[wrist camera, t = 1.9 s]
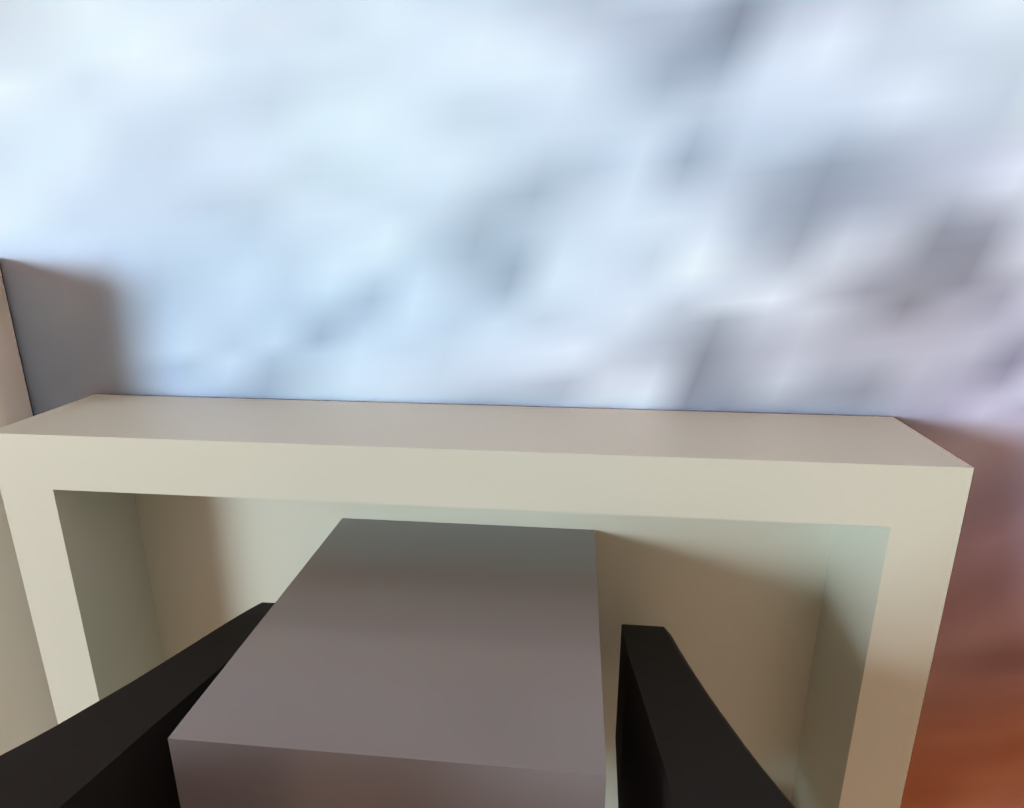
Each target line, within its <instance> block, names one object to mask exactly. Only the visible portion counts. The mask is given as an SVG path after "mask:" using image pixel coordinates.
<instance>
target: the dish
mask: <svg viewBox="0 0 1024 808" xmlns="http://www.w3.org/2000/svg"><path fill="white" fill-rule="evenodd" d="M32 416H33V414H32V410H31V405H30V401H29V396H28V392H27V387H26V383H25V378H24V374H23V369H22V365H21V360H20V356H19V351H18V347H17V342H16V338H15V333H14V329H13V324H12V320H11V315H10V311H9V306H8V302H7V297H6V293H5V288H4V284H3V279H2V275H1V270H0V428H2V427H4V426H7V425H10V424H13V423H16V422H18V421H21V420H24V419H27V418H29V417H32ZM56 725H58V722H57V718H56V714H55V710H54V706H53V702H52V698H51V694H50V689H49V685H48V681H47V677H46V673H45V669H44V665H43V661H42V657H41V653H40V649H39V645H38V641H37V637H36V632H35V628H34V624H33V620H32V616H31V612H30V608H29V604H28V600H27V596H26V592H25V588H24V584H23V580H22V576H21V571H20V567H19V563H18V559H17V555H16V551H15V547H14V543H13V539H12V535H11V531H10V527H9V523H8V519H7V514H6V510H5V506H4V502H3V498H2V494H1V490H0V755H2V754H4V753H6V752H8V751H10V750H12V749H14V748H16V747H18V746H20V745H21V744H23V743H25V742H27V741H29V740H31V739H33V738H35V737H36V736H38V735H40V734H42V733H44V732H46V731H47V730H49V729H51V728H53V727H55V726H56Z"/></svg>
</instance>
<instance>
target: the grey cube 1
mask: <svg viewBox="0 0 1024 808" xmlns="http://www.w3.org/2000/svg"><path fill="white" fill-rule="evenodd" d="M168 743H169V748H170V754H171V759H172V764H173V770H174V775H175V780H176V786H177V791H178V796H179V801H180V807H181V808H605V794H606V755H605V735H604V715H603V695H602V675H601V655H600V635H599V615H598V595H597V575H596V555H595V535H594V530H587V529H566V528H544V527H523V526H502V525H480V524H459V523H438V522H416V521H395V520H374V519H352V518H342V519H341V520H340V522H339V523H338V524H337V525H336V527H335V528H334V529H333V530H332V532H331V533H330V534H329V535H328V537H327V538H326V539H325V541H324V542H323V543H322V544H321V546H320V547H319V548H318V549H317V551H316V552H315V553H314V554H313V556H312V557H311V558H310V559H309V561H308V562H307V563H306V564H305V566H304V567H303V568H302V570H301V571H300V572H299V573H298V575H297V576H296V577H295V578H294V580H293V581H292V582H291V583H290V585H289V586H288V587H287V588H286V590H285V591H284V592H283V594H282V595H281V596H280V597H279V599H278V600H277V601H276V602H275V604H274V605H273V606H272V607H271V609H270V610H269V611H268V612H267V614H266V615H265V616H264V617H263V619H262V620H261V621H260V623H259V624H258V625H257V626H256V628H255V629H254V630H253V631H252V633H251V634H250V635H249V636H248V638H247V639H246V640H245V641H244V643H243V644H242V645H241V646H240V648H239V649H238V650H237V652H236V653H235V654H234V655H233V657H232V658H231V659H230V660H229V662H228V663H227V664H226V665H225V667H224V668H223V669H222V670H221V672H220V673H219V674H218V676H217V677H216V678H215V679H214V681H213V682H212V683H211V684H210V686H209V687H208V688H207V689H206V691H205V692H204V693H203V694H202V696H201V697H200V698H199V699H198V701H197V702H196V703H195V705H194V706H193V707H192V708H191V710H190V711H189V712H188V713H187V715H186V716H185V717H184V718H183V720H182V721H181V722H180V723H179V725H178V726H177V727H176V728H175V730H174V731H173V732H172V734H171V735H170V736H169V737H168Z"/></svg>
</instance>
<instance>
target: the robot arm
mask: <svg viewBox="0 0 1024 808" xmlns="http://www.w3.org/2000/svg"><path fill="white" fill-rule="evenodd" d="M274 604H275V603H267V602H262V603H260V604H258V605H256V606H254V607H253V608H251V609H249V610H247V611H245V612H244V613H242V614H240V615H239V616H237V617H235V618H234V619H232V620H230V621H229V622H227V623H225V624H224V625H222V626H221V627H219V628H217V629H216V630H214V631H213V632H211V633H209V634H208V635H206V636H205V637H203V638H201V639H200V640H198V641H197V642H195V643H193V644H192V645H190V646H189V647H187V648H185V649H184V650H182V651H181V652H179V653H177V654H176V655H174V656H173V657H171V658H169V659H168V660H166V661H165V662H163V663H161V664H160V665H158V666H157V667H155V668H153V669H152V670H150V671H148V672H147V673H145V674H144V675H142V676H140V677H139V678H137V679H136V680H134V681H132V682H131V683H129V684H127V685H126V686H124V687H122V688H120V689H119V690H117V691H115V692H113V693H112V694H110V695H108V696H107V697H105V698H103V699H101V700H100V701H98V702H96V703H94V704H93V705H91V706H89V707H87V708H86V709H84V710H82V711H81V712H79V713H77V714H75V715H74V716H72V717H70V718H68V719H67V720H65V721H63V722H62V723H60V724H58V725H56V726H55V727H53V728H51V729H49V730H47V731H46V732H44V733H42V734H40V735H38V736H36V737H35V738H33V739H31V740H29V741H27V742H25V743H23V744H21V745H20V746H18V747H16V748H14V749H12V750H10V751H8V752H6V753H4V754H2V755H0V808H181V807H180V801H179V796H178V791H177V786H176V780H175V775H174V770H173V764H172V759H171V754H170V748H169V743H168V737H169V736H170V735H171V734H172V732H173V731H174V730H175V728H176V727H177V726H178V725H179V723H180V722H181V721H182V720H183V718H184V717H185V716H186V715H187V713H188V712H189V711H190V710H191V708H192V707H193V706H194V705H195V703H196V702H197V701H198V699H199V698H200V697H201V696H202V694H203V693H204V692H205V691H206V689H207V688H208V687H209V686H210V684H211V683H212V682H213V681H214V679H215V678H216V677H217V676H218V674H219V673H220V672H221V670H222V669H223V668H224V667H225V665H226V664H227V663H228V662H229V660H230V659H231V658H232V657H233V655H234V654H235V653H236V652H237V650H238V649H239V648H240V646H241V645H242V644H243V643H244V641H245V640H246V639H247V638H248V636H249V635H250V634H251V633H252V631H253V630H254V629H255V628H256V626H257V625H258V624H259V623H260V621H261V620H262V619H263V617H264V616H265V615H266V614H267V612H268V611H269V610H270V609H271V607H272V606H273V605H274ZM615 742H616V766H617V789H618V808H795V807H794V806H793V804H792V803H791V802H790V801H789V800H788V798H787V797H786V796H785V795H784V794H783V792H782V791H781V790H780V789H779V787H778V786H777V785H776V784H775V783H774V781H773V780H772V779H771V778H770V776H769V775H768V774H767V773H766V772H765V770H764V769H763V768H762V767H761V765H760V764H759V763H758V761H757V760H756V759H755V758H754V756H753V755H752V754H751V752H750V751H749V750H748V749H747V747H746V746H745V745H744V743H743V742H742V741H741V739H740V738H739V736H738V735H737V734H736V732H735V731H734V730H733V728H732V727H731V726H730V724H729V723H728V721H727V720H726V719H725V717H724V716H723V715H722V713H721V712H720V710H719V709H718V708H717V706H716V705H715V703H714V702H713V700H712V699H711V698H710V696H709V695H708V693H707V692H706V690H705V689H704V687H703V686H702V684H701V683H700V681H699V680H698V678H697V677H696V675H695V674H694V672H693V670H692V669H691V667H690V666H689V664H688V663H687V661H686V659H685V658H684V656H683V654H682V653H681V651H680V649H679V648H678V646H677V644H676V643H675V641H674V639H673V637H672V636H671V634H670V633H669V632H668V631H667V630H666V629H665V628H664V627H661V626H644V625H628V624H622V627H621V645H620V662H619V680H618V698H617V716H616V734H615Z"/></svg>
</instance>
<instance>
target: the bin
mask: <svg viewBox="0 0 1024 808" xmlns="http://www.w3.org/2000/svg"><path fill="white" fill-rule="evenodd" d="M973 471H974V467H972V466H970V465H969V464H967V463H966V462H964V461H963V460H961V459H959V458H958V457H956V456H955V455H953V454H951V453H950V452H948V451H947V450H945V449H943V448H942V447H940V446H939V445H937V444H935V443H934V442H932V441H931V440H929V439H927V438H926V437H924V436H923V435H921V434H919V433H918V432H916V431H915V430H913V429H912V428H910V427H908V426H907V425H905V424H904V423H902V422H900V421H899V420H897V419H896V418H894V417H881V416H846V415H811V414H775V413H740V412H705V411H670V410H634V409H599V408H564V407H528V406H493V405H458V404H423V403H387V402H352V401H317V400H282V399H246V398H211V397H176V396H140V395H105V394H93V395H91V396H88V397H85V398H82V399H79V400H77V401H74V402H71V403H68V404H66V405H63V406H60V407H57V408H54V409H52V410H49V411H46V412H43V413H41V414H38V415H35V416H32V417H29V418H27V419H24V420H21V421H18V422H16V423H13V424H10V425H7V426H4V427H2V428H0V490H1V494H2V498H3V502H4V506H5V510H6V514H7V519H8V523H9V527H10V531H11V535H12V539H13V543H14V547H15V551H16V555H17V559H18V563H19V567H20V571H21V576H22V580H23V584H24V588H25V592H26V596H27V600H28V604H29V608H30V612H31V616H32V620H33V624H34V628H35V632H36V637H37V641H38V645H39V649H40V653H41V657H42V661H43V665H44V669H45V673H46V677H47V681H48V685H49V689H50V694H51V698H52V702H53V706H54V710H55V714H56V718H57V722H58V724H60V723H62V722H63V721H65V720H67V719H68V718H70V717H72V716H74V715H75V714H77V713H79V712H81V711H82V710H84V709H86V708H87V707H89V706H91V705H93V704H94V703H96V702H98V701H100V700H101V699H103V698H105V697H107V696H108V695H110V694H112V693H113V692H115V691H117V690H119V689H120V688H122V687H124V686H126V685H127V684H129V683H131V682H132V681H134V680H136V679H137V678H139V677H140V676H142V675H144V674H145V673H147V672H148V671H150V670H152V669H153V668H155V667H157V666H158V665H160V664H161V663H163V662H165V661H166V660H168V659H169V658H171V657H173V656H174V655H176V654H177V653H179V652H181V651H182V650H184V649H185V648H187V647H189V646H190V645H192V644H193V643H195V642H197V641H198V640H200V639H201V638H203V637H205V636H206V635H208V634H209V633H211V632H213V631H214V630H216V629H217V628H219V627H221V626H222V625H224V624H225V623H227V622H229V621H230V620H232V619H234V618H235V617H237V616H239V615H240V614H242V613H244V612H245V611H247V610H249V609H251V608H253V607H254V606H256V605H258V604H260V603H262V602H267V603H275V602H276V601H277V600H278V599H279V597H280V596H281V595H282V594H283V592H284V591H285V590H286V588H287V587H288V586H289V585H290V583H291V582H292V581H293V580H294V578H295V577H296V576H297V575H298V573H299V572H300V571H301V570H302V568H303V567H304V566H305V564H306V563H307V562H308V561H309V559H310V558H311V557H312V556H313V554H314V553H315V552H316V551H317V549H318V548H319V547H320V546H321V544H322V543H323V542H324V541H325V539H326V538H327V537H328V535H329V534H330V533H331V532H332V530H333V529H334V528H335V527H336V525H337V524H338V523H339V522H340V520H341V519H342V518H352V519H374V520H395V521H416V522H438V523H459V524H480V525H502V526H523V527H544V528H566V529H587V530H594V535H595V555H596V575H597V595H598V615H599V635H600V655H601V675H602V695H603V715H604V735H605V755H606V794H605V808H618V789H617V766H616V742H615V734H616V716H617V698H618V680H619V662H620V645H621V627H622V624H628V625H644V626H661V627H664V628H665V629H666V630H667V631H668V632H669V633H670V634H671V636H672V637H673V639H674V641H675V643H676V644H677V646H678V648H679V649H680V651H681V653H682V654H683V656H684V658H685V659H686V661H687V663H688V664H689V666H690V667H691V669H692V670H693V672H694V674H695V675H696V677H697V678H698V680H699V681H700V683H701V684H702V686H703V687H704V689H705V690H706V692H707V693H708V695H709V696H710V698H711V699H712V700H713V702H714V703H715V705H716V706H717V708H718V709H719V710H720V712H721V713H722V715H723V716H724V717H725V719H726V720H727V721H728V723H729V724H730V726H731V727H732V728H733V730H734V731H735V732H736V734H737V735H738V736H739V738H740V739H741V741H742V742H743V743H744V745H745V746H746V747H747V749H748V750H749V751H750V752H751V754H752V755H753V756H754V758H755V759H756V760H757V761H758V763H759V764H760V765H761V767H762V768H763V769H764V770H765V772H766V773H767V774H768V775H769V776H770V778H771V779H772V780H773V781H774V783H775V784H776V785H777V786H778V787H779V789H780V790H781V791H782V792H783V794H784V795H785V796H786V797H787V798H788V800H789V801H790V802H791V803H792V804H793V806H794V807H795V808H900V805H901V800H902V795H903V791H904V786H905V782H906V777H907V773H908V768H909V764H910V759H911V754H912V750H913V745H914V741H915V736H916V732H917V727H918V722H919V718H920V713H921V709H922V704H923V700H924V695H925V690H926V686H927V681H928V677H929V672H930V668H931V663H932V659H933V654H934V649H935V645H936V640H937V636H938V631H939V627H940V622H941V617H942V613H943V608H944V604H945V599H946V595H947V590H948V586H949V581H950V576H951V572H952V567H953V563H954V558H955V554H956V549H957V544H958V540H959V535H960V531H961V526H962V522H963V517H964V512H965V508H966V503H967V499H968V494H969V490H970V485H971V481H972V476H973Z"/></svg>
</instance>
